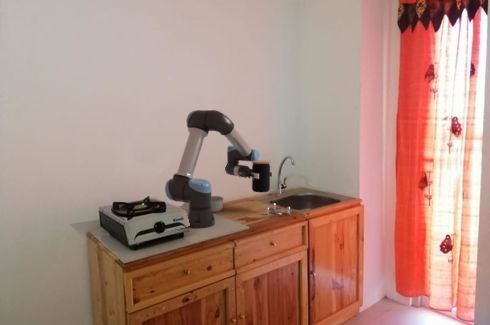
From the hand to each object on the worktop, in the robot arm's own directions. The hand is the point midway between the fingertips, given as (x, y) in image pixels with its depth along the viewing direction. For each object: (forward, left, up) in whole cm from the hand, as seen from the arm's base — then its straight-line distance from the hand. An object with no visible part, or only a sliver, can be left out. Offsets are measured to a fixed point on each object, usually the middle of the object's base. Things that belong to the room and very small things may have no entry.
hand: (265, 175), depth 224 cm
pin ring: (+2, -6, -22) cm, 23 cm away
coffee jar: (0, +4, -10) cm, 11 cm away
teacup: (-25, +21, -22) cm, 39 cm away
